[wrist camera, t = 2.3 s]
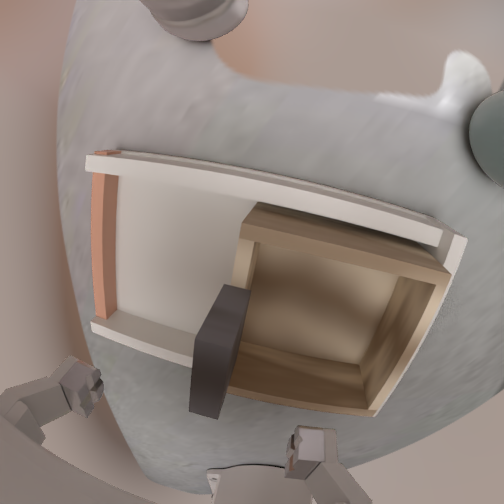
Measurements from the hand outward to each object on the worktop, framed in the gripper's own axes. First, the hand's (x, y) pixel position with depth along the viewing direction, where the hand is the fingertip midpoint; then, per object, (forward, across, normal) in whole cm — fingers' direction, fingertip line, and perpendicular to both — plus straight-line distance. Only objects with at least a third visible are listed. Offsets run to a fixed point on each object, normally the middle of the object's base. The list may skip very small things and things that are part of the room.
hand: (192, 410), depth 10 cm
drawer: (+13, -6, +1) cm, 14 cm away
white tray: (+14, 0, +1) cm, 14 cm away
